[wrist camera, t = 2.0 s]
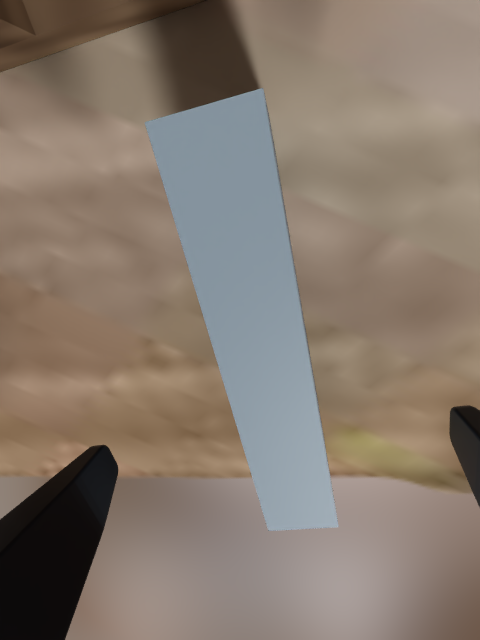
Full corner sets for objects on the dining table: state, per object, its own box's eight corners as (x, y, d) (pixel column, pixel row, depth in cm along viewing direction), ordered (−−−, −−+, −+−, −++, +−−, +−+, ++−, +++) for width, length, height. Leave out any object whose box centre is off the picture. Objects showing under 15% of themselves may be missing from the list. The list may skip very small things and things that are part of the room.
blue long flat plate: (269, 117, 15) (262, 87, 8) (318, 403, 22) (338, 527, 15) (204, 135, 16) (144, 122, 9) (271, 408, 22) (268, 530, 15)
